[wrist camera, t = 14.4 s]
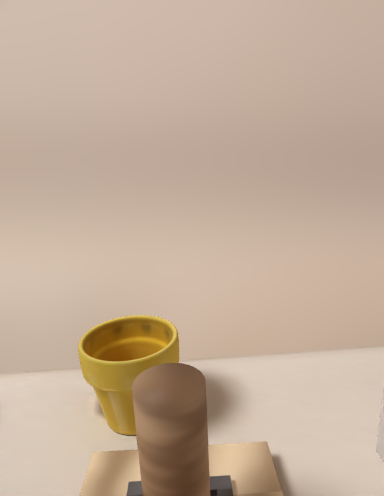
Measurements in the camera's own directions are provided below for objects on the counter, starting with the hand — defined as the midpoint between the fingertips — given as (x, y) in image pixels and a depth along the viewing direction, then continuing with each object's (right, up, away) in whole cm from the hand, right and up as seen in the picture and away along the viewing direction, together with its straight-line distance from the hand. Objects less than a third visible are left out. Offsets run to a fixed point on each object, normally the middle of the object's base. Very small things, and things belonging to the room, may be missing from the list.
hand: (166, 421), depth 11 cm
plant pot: (-5, -14, +29) cm, 33 cm away
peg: (0, -17, +15) cm, 22 cm away
